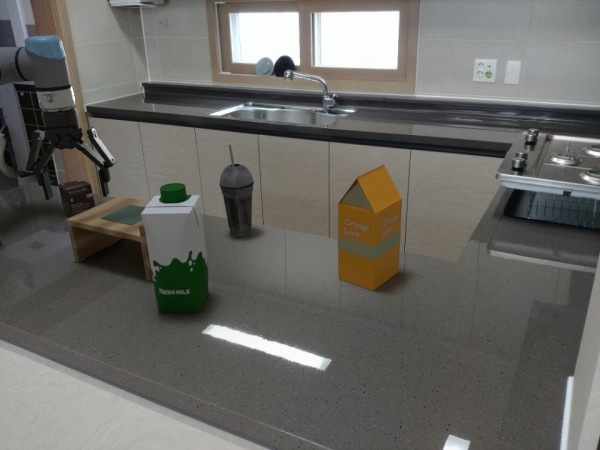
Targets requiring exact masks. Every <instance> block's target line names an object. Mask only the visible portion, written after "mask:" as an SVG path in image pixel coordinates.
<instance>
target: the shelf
mask: <svg viewBox="0 0 600 450" xmlns="http://www.w3.org/2000/svg"><path fill="white" fill-rule="evenodd" d="M149 202H150V201H147V200H143V199H137V198H131V197H126V196H121V195H120V196H117V197H114V198H112V199H109V200H107V201H105V202H102V203H101V204H98V205H95V207H94V208H91V209H89V210H87V211H84V212H82V213H80V214H78V215H75V216H73V217H68V218H66V219H65V220H66V225H67V230H68V234H69V239H70V245H71V248H72V251H73V257H74V261H75V260H77V261H76V262H78V261H80V260H82V259H84V258H86V257H88V256H90V255H91V256H93V255H95V254H97V253H99V252H101V251H103V250H105V249H106V248H105V247H107V246H108V247H110V246H112V245H114V244H116V243H118V242H120V241H121V240H120V239H122V238H124V239H125V240H130V241H133V242H138V243H140V248H141V254H142V259H143V266H144V272H145V278H146V281H149V282H153V277H152V271H151V265H150V259H149V252H148V246H147V240H146V233H145V228H144V224H143V220H142V217H141V213H142V212H143V210H144V209H145V206H146V205H147V204H148V203H149ZM119 240H120V241H119ZM122 240H123V239H122ZM117 241H118V242H117ZM115 242H116V243H115ZM113 243H114V244H113ZM111 244H112V245H111ZM109 245H110V246H109ZM108 247H107V248H108ZM104 248H105V249H104ZM102 249H103V250H102ZM100 250H101V251H100ZM98 251H99V252H98ZM96 252H97V253H96ZM94 253H95V254H94ZM92 254H93V255H92ZM91 256H90V257H91ZM88 258H89V257H88ZM86 259H87V258H86ZM84 260H85V259H84ZM82 261H83V260H82ZM80 262H81V261H80Z"/></svg>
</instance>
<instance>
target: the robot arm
mask: <svg viewBox="0 0 600 450" xmlns="http://www.w3.org/2000/svg"><path fill="white" fill-rule="evenodd" d="M67 58H68V57H67V54H66V52H65V47H64V43H63V40H62V38H61V37H60V36H58V35H53V34H51V35H36V36H28V37H26V38H25V39H24V45H23V46H0V86H3V85H8V84H13V83H33V84H34V88H35V92H36V96H37V100H38V106H39V108H40V109H41V110H42V111H41V112H40V114H41V118H42V123H43V126H44V131H43V130H40V129H36V130H34V131H33V132H31V139H32V142H31V146H30V149H29V154H28V157H27V162H26V165H25V171H27V172H31V173H34V174H35V175H36V176H35V177H36V181H37V184H38V186H39V187H42V191H43V194H44V199H45V201H49V200H51V199H52V198H54V193H53V189H52V185H51V179H50V176H49V172H48V170H45V167H46V166H47V164H48V162H49V161H50V159H52V156H53V154H54V153H55V151H56V150H59V151H61V150H63V151H64V150H74V149H76V150H77V151H80V152H81V153H82V154H83V155H84V156H85V157H86V158H88V159H89V160H90V161H91V162H92V163H93V164H95V166H97V167H98V168H99V169H98V170H97V173H98V178H99V183H100V188H101V193H102V197H103V198H107V197H108V196H109V194H110V188H109V183H110V182H111V179H112V177H111V172H110V168H113V166H115V164H116V162H117V161H116V159H115V158H114V156H113V155H112V154H111V152H110V151H109V149H107V147H106V145H105V144H104V143H103V142H102V140H101V139H100V138H99V136H98V133H97V130H96V128H95V127H94V126H90V127H89V128H84V129H83V128H82V126H81V123H80V117H79V112H78V109H77V108H76V107H75V106H76V98H75V93H74V90H73V86H72V80H71V75H70V71H69V66H68V59H67ZM83 136H85V138H87V139H88V140H89V141H90V143H91V144H92V146H93V148H94V149H95V150H94V149H92V148H91V146H89V145H88V143H87V142H86V141H85V140H84V139H82V138H83ZM45 138H46V140H47V141H49V142H50V143H49V144H48V146H47V148H46V150H45V151H44V153H43V155H42V156H41V158H40V160H39V161H38V158H39V154H40V150H41V147H42V142H43V140H44V139H45ZM96 151H97V152H96ZM37 162H38V163H37Z"/></svg>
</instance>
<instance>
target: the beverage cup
mask: <svg viewBox="0 0 600 450" xmlns="http://www.w3.org/2000/svg"><path fill="white" fill-rule="evenodd" d="M228 150H229V157H230V164H229V165H227V166H226V167H225V168H224V169H223V170H222V171H221V174H220V177H219V183H218V184H219V187H220V191H221V194H222V197H223V203H224V208H225V214H226V219H227V225H228V229H229V234H230V236H231V237H234V238H246V237H248V236H250V235H251V233H252V225H253V224H252V221H253V217H252V215H253V191H254V183H255V181H254V177H253V175H252V172H251V171H250V169H249V168H248V167H247V166H245V165H243V164H241V163H235V161H234V154H233V148H232V144H229V145H228Z"/></svg>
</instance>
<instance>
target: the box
mask: <svg viewBox="0 0 600 450" xmlns="http://www.w3.org/2000/svg"><path fill="white" fill-rule="evenodd" d="M58 190H59V195H60V199H61V204H62V209H63V213H64V214H66V215H67V216H68V217H69V218H71V217H73V216H75V215H78V214H80V213H82V212H84V211H87V210H89V209H91V208H94V207H96V204H95V203H96V202H95V198H94V194H93V188H92V184H91V183H90V182H87V180H84V179H78V180H71V181H67V182H62V183H58Z"/></svg>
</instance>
